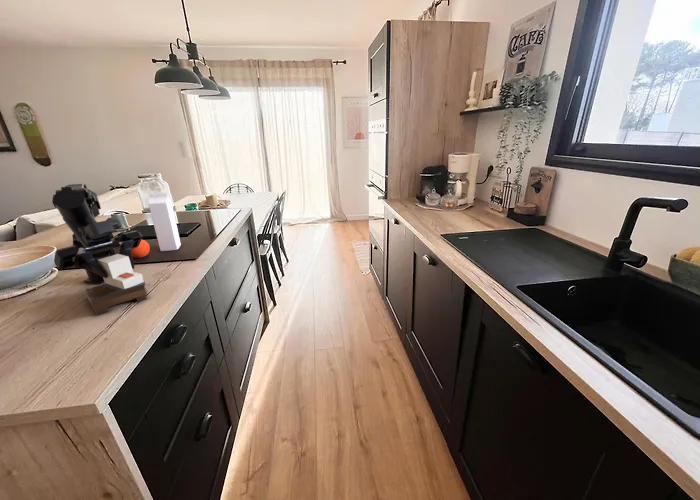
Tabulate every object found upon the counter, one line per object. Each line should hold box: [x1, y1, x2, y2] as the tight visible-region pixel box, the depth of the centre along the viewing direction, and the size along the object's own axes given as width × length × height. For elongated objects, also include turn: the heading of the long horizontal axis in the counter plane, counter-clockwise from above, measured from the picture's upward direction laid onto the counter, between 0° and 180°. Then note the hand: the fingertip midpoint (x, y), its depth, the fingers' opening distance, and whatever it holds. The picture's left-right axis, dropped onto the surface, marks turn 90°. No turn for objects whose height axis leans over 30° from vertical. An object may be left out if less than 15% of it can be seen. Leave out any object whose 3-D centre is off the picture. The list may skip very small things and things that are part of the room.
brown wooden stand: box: [83, 283, 148, 316], centre depth 77 cm, size 12×11×4 cm
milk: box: [148, 192, 182, 252], centre depth 111 cm, size 6×6×22 cm
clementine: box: [131, 238, 151, 259], centre depth 106 cm, size 8×7×7 cm
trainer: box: [97, 253, 147, 291], centre depth 77 cm, size 10×5×8 cm, turn 65°
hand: (120, 272), depth 77 cm, fingers open, 6 cm apart
